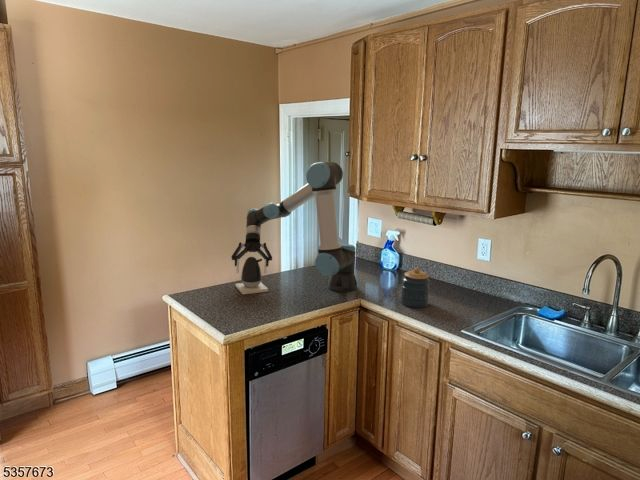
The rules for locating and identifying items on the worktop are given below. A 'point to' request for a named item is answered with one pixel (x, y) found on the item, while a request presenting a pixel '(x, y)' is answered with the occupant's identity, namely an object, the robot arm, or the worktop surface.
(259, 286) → the tile pad
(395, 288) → the worktop surface
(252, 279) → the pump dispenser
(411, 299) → the canister
